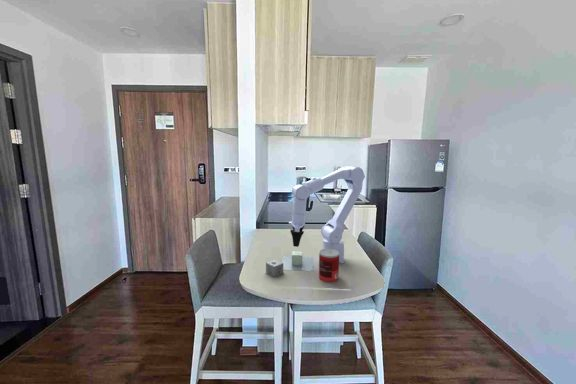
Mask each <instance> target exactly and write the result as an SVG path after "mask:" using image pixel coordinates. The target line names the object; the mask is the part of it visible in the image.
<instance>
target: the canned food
mask: <svg viewBox="0 0 576 384" xmlns="http://www.w3.org/2000/svg"><path fill="white" fill-rule="evenodd" d="M318 256H319V257H318V279H319V280H321V281H323V282H326V283H334V282H337V281H338V280H339V274H340V273H339V272H340V268H339V267H340V263H339V252H338V251H337V250H335V249H323V248H322V249H320V250H319V254H318Z"/></svg>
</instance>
